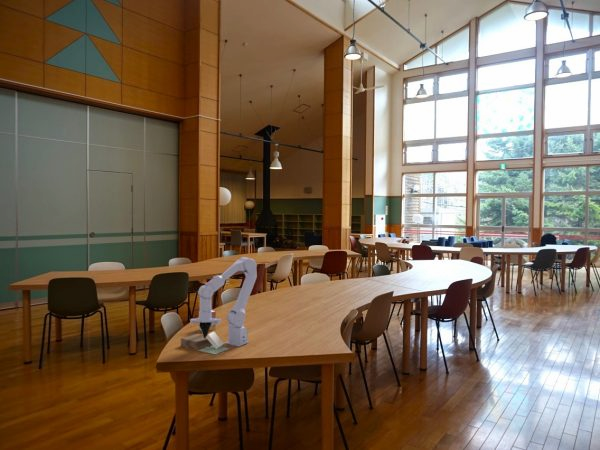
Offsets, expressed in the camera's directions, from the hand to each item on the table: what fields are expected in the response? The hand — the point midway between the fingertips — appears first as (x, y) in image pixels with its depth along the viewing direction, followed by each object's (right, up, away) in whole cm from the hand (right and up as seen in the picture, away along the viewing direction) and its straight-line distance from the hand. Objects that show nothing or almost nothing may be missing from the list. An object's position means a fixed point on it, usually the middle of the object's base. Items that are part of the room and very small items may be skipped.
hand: (205, 337), depth 209 cm
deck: (-5, -5, +3) cm, 8 cm away
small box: (-6, -4, +33) cm, 34 cm away
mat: (+5, -5, -3) cm, 8 cm away
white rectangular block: (+4, -2, 0) cm, 4 cm away
